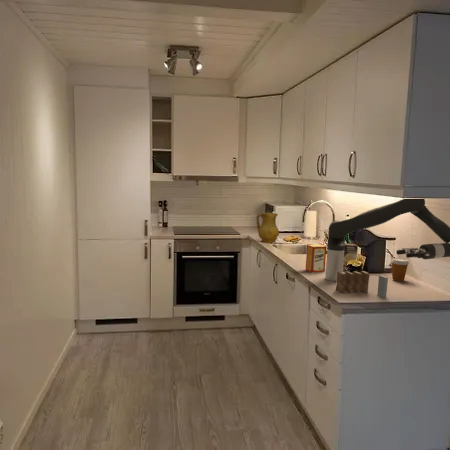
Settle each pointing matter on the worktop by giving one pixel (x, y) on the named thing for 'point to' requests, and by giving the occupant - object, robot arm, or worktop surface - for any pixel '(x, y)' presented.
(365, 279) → the domino
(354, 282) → the domino
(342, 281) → the domino
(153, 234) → the worktop surface
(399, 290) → the worktop surface
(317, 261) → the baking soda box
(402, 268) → the disposable coffee cup
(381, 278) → the domino
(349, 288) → the domino
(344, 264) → the coffee box
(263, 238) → the pitcher
